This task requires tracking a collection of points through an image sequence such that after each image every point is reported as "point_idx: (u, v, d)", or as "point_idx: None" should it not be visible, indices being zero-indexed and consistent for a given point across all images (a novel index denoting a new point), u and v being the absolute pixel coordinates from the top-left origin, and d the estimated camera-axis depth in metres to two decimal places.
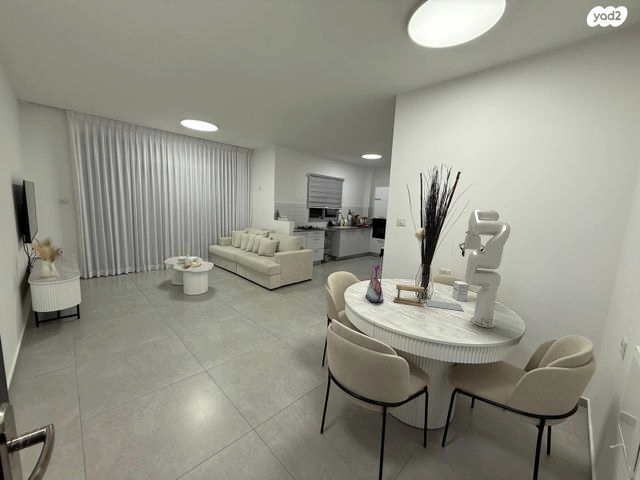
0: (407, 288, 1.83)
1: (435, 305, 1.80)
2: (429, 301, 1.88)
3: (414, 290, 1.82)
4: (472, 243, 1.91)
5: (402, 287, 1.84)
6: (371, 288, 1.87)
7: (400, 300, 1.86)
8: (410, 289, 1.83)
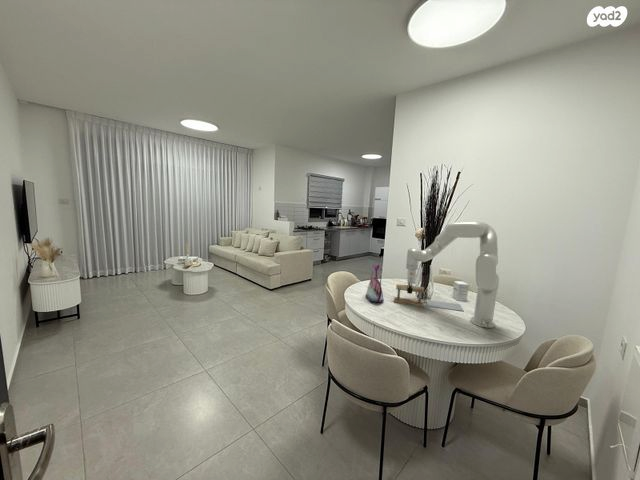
0: (407, 288, 1.83)
1: (435, 305, 1.80)
2: (429, 301, 1.88)
3: (414, 290, 1.82)
4: None
5: (402, 287, 1.84)
6: (371, 288, 1.87)
7: (400, 300, 1.86)
8: None
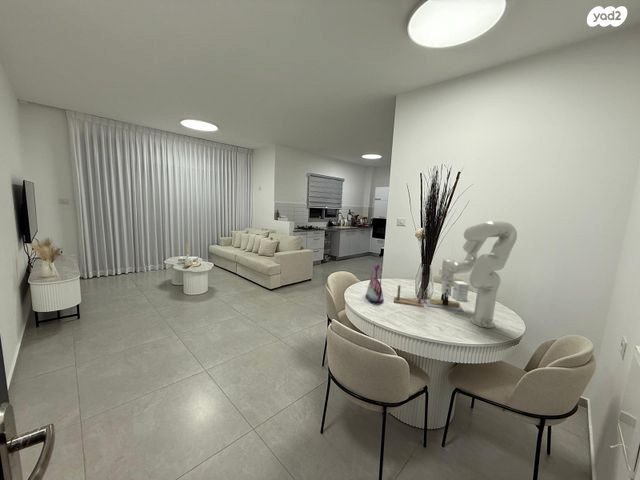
0: (442, 303, 1.81)
1: (435, 305, 1.80)
2: (429, 301, 1.88)
3: (449, 305, 1.79)
4: None
5: (436, 301, 1.81)
6: (371, 288, 1.87)
7: (400, 300, 1.86)
8: None
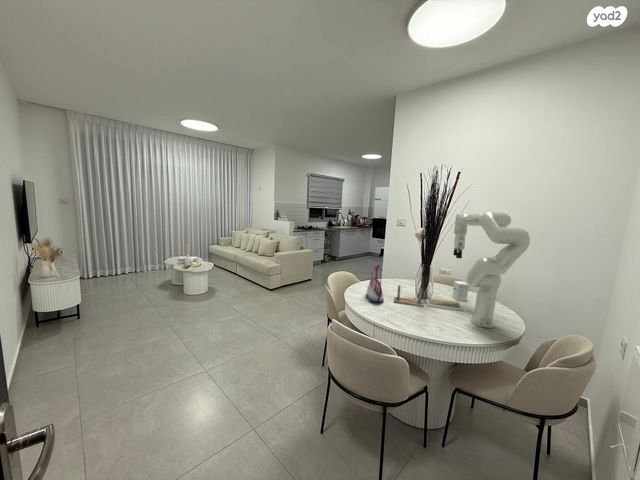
0: (442, 303, 1.81)
1: (435, 305, 1.80)
2: (429, 301, 1.88)
3: (449, 305, 1.79)
4: None
5: (436, 301, 1.81)
6: (371, 288, 1.87)
7: (400, 300, 1.86)
8: (445, 304, 1.80)
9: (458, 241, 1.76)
